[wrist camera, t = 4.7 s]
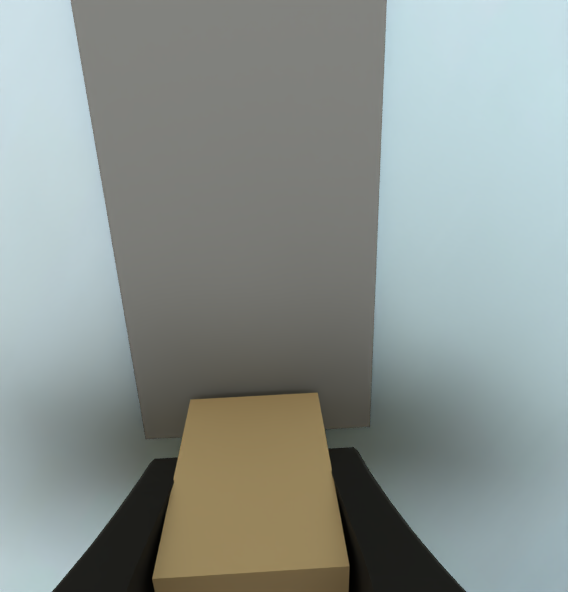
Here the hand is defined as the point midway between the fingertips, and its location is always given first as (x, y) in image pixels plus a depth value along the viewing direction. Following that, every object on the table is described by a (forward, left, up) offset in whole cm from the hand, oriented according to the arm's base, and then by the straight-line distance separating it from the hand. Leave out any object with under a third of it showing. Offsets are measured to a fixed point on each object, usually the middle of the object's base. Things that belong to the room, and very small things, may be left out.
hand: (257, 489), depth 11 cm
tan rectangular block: (+2, +4, -2) cm, 5 cm away
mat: (-3, -4, -2) cm, 5 cm away
